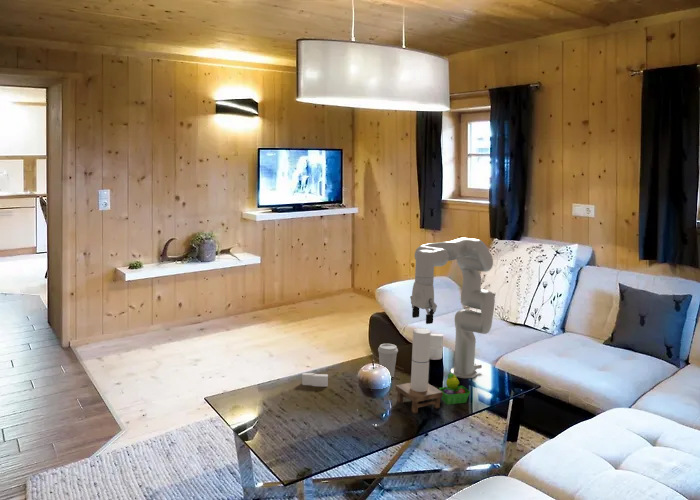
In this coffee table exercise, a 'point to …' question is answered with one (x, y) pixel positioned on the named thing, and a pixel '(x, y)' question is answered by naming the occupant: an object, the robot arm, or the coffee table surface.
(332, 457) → the coffee table surface
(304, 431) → the coffee table surface
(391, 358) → the coffee cup
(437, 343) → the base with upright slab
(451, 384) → the fruit basket
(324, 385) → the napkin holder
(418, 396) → the stool
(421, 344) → the cylindrical container
